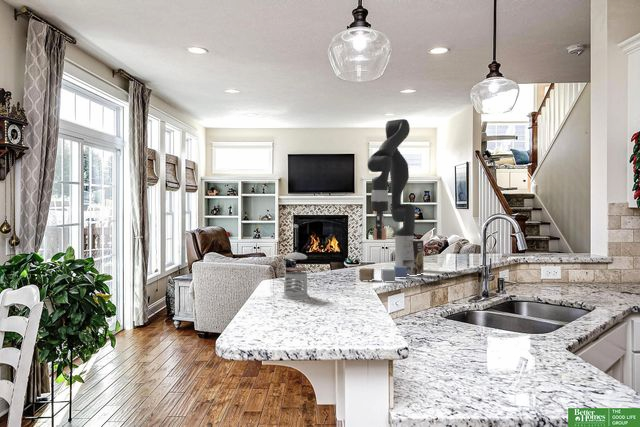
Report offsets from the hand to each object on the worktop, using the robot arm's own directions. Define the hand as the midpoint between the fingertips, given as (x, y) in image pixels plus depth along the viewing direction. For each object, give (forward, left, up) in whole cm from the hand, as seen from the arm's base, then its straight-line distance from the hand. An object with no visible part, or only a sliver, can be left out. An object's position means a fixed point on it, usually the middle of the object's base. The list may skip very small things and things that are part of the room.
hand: (379, 238), depth 201 cm
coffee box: (-9, +14, -18) cm, 25 cm away
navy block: (0, +9, -17) cm, 20 cm away
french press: (+53, -25, -18) cm, 61 cm away
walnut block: (+11, -5, -17) cm, 21 cm away
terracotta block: (0, 0, 0) cm, 0 cm away
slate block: (+11, +4, -17) cm, 21 cm away
